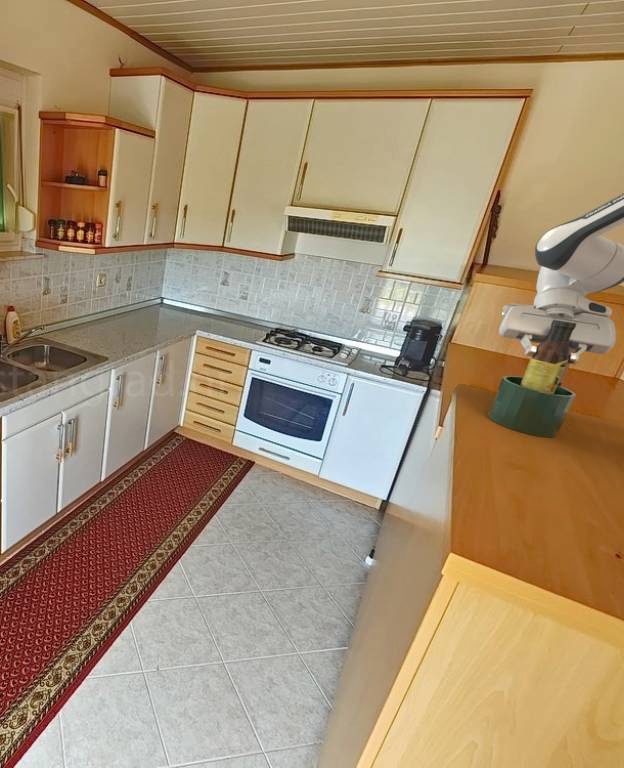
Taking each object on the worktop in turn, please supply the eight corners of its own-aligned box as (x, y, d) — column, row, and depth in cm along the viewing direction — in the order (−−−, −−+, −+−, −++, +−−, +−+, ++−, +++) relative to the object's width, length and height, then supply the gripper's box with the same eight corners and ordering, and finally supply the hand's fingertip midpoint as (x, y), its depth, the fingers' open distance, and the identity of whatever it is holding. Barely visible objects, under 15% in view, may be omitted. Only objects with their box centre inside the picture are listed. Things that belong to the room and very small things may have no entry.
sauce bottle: (550, 411, 110) (588, 326, 103) (515, 403, 113) (551, 320, 106) (544, 403, 115) (580, 321, 108) (511, 396, 118) (545, 316, 111)
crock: (548, 424, 119) (566, 385, 115) (564, 443, 108) (584, 401, 104) (483, 408, 124) (498, 372, 121) (492, 425, 113) (509, 385, 110)
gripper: (509, 293, 116) (501, 340, 111) (621, 310, 107) (618, 361, 103) (498, 309, 121) (490, 355, 117) (605, 326, 113) (601, 376, 108)
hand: (551, 358), depth 110 cm, fingers closed on sauce bottle, 6 cm apart
